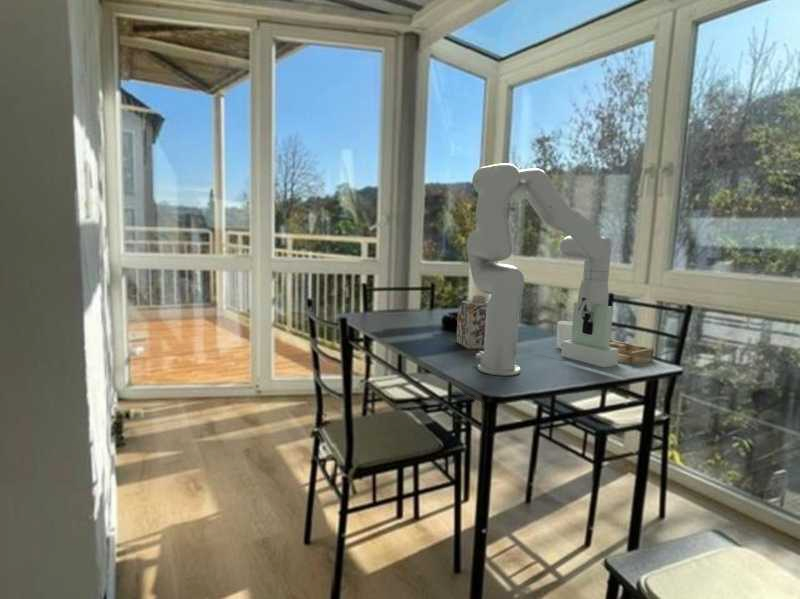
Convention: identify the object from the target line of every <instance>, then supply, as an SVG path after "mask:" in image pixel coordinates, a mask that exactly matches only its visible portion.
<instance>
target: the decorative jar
mask: <svg viewBox="0 0 800 599" xmlns="http://www.w3.org/2000/svg"><path fill="white" fill-rule="evenodd" d="M488 302H489V300H487V296H486V295H481V294H477V295H476V294H475V295H473V296H472V299H465V300H463V301H461V302H460V304H459V305H458V306H457V308H458V309H457V322H456V323H457V324H456V325H457V326H456V343H457V344H459V345H461V346H462V347H464V348H466V349H467V350H480V349H481V350H484V340H485V323H486V309H487V305H488Z"/></svg>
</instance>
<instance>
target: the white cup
mask: <svg viewBox="0 0 800 599" xmlns="http://www.w3.org/2000/svg"><path fill="white" fill-rule="evenodd" d="M572 324H573V320H558V321H557V324H556V342H557V343H556V347H557V348H558V349H561V350H562V341H566V340H571V336H572Z"/></svg>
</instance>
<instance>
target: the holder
mask: <svg viewBox="0 0 800 599" xmlns="http://www.w3.org/2000/svg"><path fill="white" fill-rule="evenodd" d="M618 352H619V349H617V348H612V347H609V350H601V349H597V348H593V347H588V346H584V345H580V344H576V343H571V340H566V341H562V349H561V354H560V355H561V357H563V358H567V359H571V360H574V361H579V362H582V363H585V364H586V363H587V364H590V365H594V366H598V367H601V368H608V367H613V366H618V363H619V362H618Z"/></svg>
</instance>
